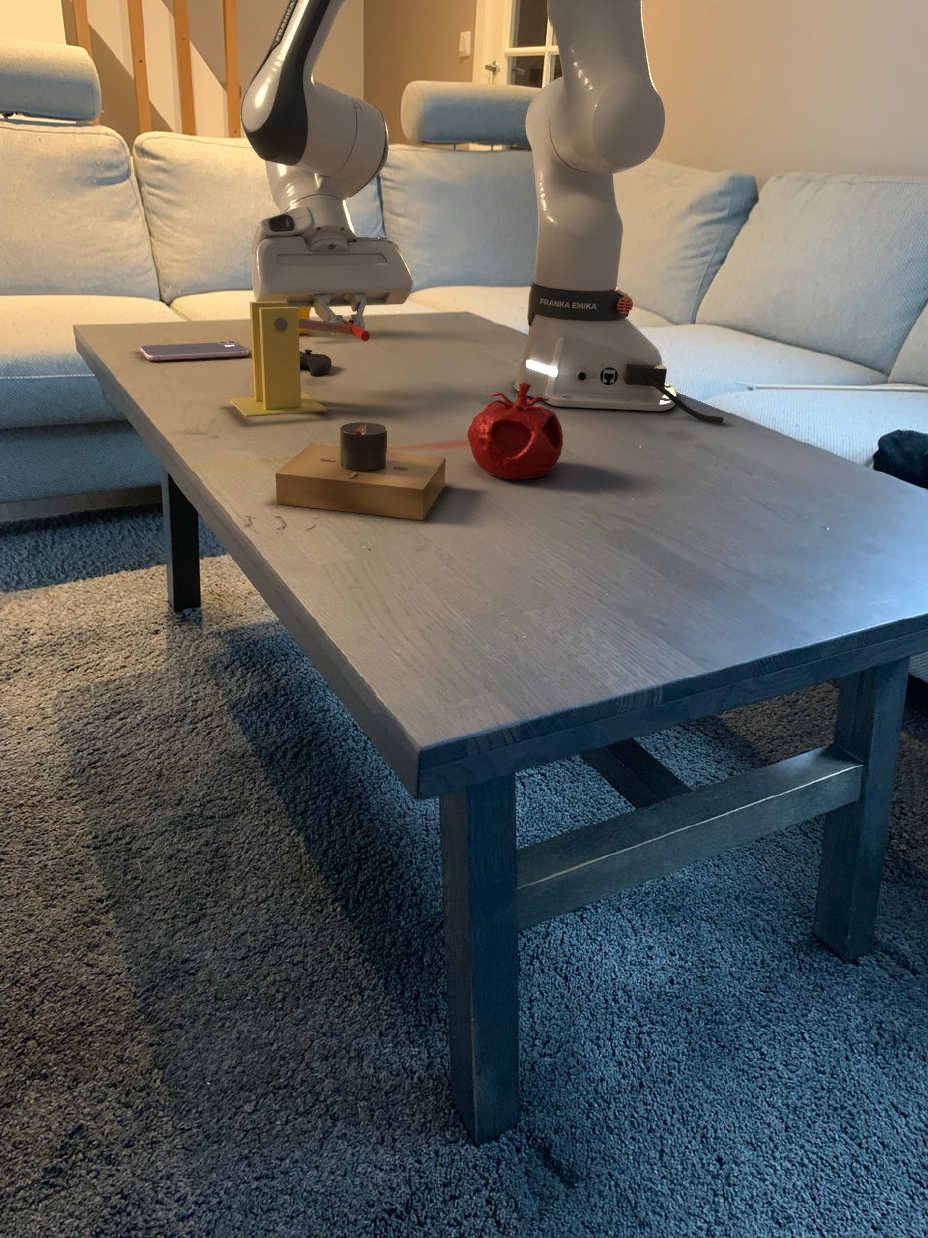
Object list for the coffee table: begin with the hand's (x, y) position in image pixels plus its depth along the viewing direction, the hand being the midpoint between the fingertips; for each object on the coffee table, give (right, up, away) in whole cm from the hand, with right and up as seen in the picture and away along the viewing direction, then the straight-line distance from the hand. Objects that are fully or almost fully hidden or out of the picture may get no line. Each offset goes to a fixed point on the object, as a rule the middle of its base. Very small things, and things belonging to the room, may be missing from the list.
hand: (348, 331), depth 119 cm
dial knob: (+5, -21, -27) cm, 35 cm away
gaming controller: (-9, -1, +17) cm, 19 cm away
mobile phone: (-26, +4, +25) cm, 37 cm away
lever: (-4, -2, -4) cm, 6 cm away
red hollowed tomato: (+20, -20, -17) cm, 33 cm away
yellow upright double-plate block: (-8, -10, -1) cm, 14 cm away
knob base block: (+5, -24, -26) cm, 36 cm away
